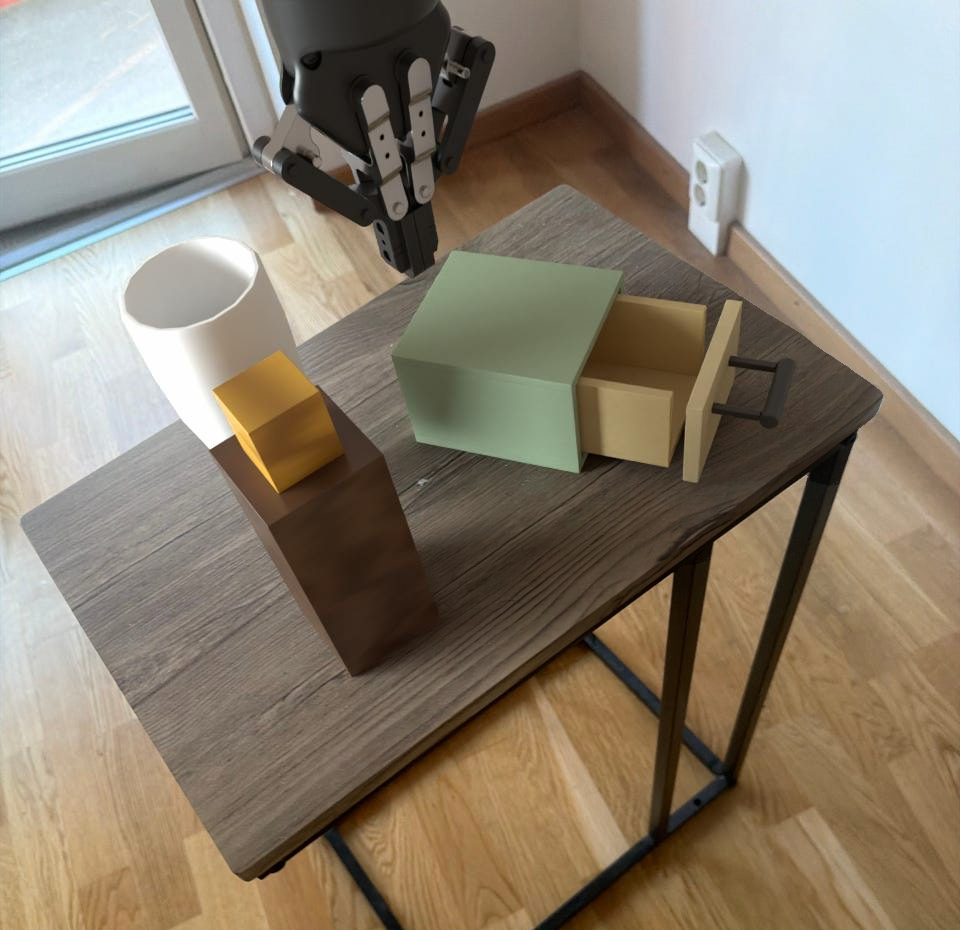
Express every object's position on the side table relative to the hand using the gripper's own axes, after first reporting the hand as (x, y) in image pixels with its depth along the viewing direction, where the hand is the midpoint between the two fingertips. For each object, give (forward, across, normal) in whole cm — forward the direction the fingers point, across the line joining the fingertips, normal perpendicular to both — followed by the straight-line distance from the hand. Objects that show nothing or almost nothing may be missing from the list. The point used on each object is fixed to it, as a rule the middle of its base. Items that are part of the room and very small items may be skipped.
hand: (414, 265), depth 50 cm
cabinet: (+26, +13, +10) cm, 31 cm away
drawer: (+25, +19, -1) cm, 31 cm away
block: (+8, -10, +2) cm, 13 cm away
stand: (+26, -9, +2) cm, 28 cm away
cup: (+27, -7, +16) cm, 32 cm away
